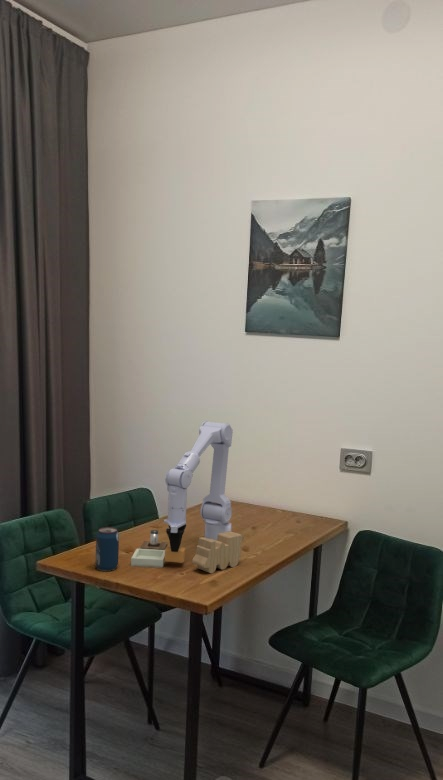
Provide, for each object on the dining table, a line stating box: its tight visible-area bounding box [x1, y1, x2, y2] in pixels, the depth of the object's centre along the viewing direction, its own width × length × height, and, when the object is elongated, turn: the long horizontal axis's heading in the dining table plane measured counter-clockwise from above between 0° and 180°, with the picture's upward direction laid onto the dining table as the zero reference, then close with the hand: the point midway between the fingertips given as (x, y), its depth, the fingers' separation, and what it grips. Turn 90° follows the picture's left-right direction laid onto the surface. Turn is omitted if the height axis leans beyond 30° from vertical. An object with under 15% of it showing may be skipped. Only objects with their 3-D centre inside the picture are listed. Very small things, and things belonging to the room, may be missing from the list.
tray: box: [130, 548, 166, 569], centre depth 206 cm, size 10×10×2 cm
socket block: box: [139, 540, 168, 550], centre depth 216 cm, size 8×8×2 cm
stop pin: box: [149, 529, 159, 547], centre depth 215 cm, size 3×3×7 cm
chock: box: [164, 546, 186, 564], centre depth 203 cm, size 6×4×4 cm, turn 87°
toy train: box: [191, 530, 245, 575], centre depth 203 cm, size 6×17×10 cm, turn 135°
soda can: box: [94, 526, 120, 572], centre depth 198 cm, size 7×7×12 cm
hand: (175, 549), depth 203 cm, fingers closed on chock, 4 cm apart
